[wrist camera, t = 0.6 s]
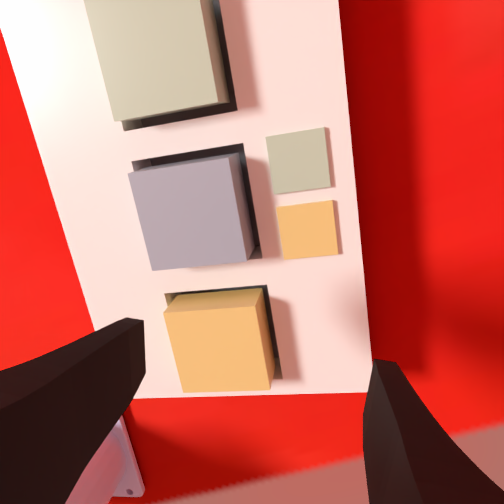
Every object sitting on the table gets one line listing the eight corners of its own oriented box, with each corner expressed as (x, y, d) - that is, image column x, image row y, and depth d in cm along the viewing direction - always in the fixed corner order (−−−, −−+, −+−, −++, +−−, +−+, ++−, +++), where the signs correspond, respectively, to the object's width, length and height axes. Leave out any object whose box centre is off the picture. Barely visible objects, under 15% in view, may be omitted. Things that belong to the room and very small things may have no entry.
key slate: (168, 256, 21) (152, 271, 19) (146, 167, 19) (127, 173, 18) (254, 247, 20) (247, 261, 18) (238, 152, 18) (228, 157, 17)
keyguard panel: (139, 367, 26) (114, 401, 23) (38, 14, 20) (-12, -2, 17) (369, 357, 23) (375, 394, 20) (329, -63, 17) (329, -98, 14)
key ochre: (195, 369, 23) (183, 392, 21) (177, 295, 21) (162, 312, 20) (275, 365, 22) (270, 390, 20) (261, 287, 20) (254, 306, 19)
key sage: (135, 119, 19) (114, 121, 17) (109, 11, 18) (83, -1, 16) (229, 102, 18) (218, 101, 16) (209, -15, 17) (194, -30, 15)
